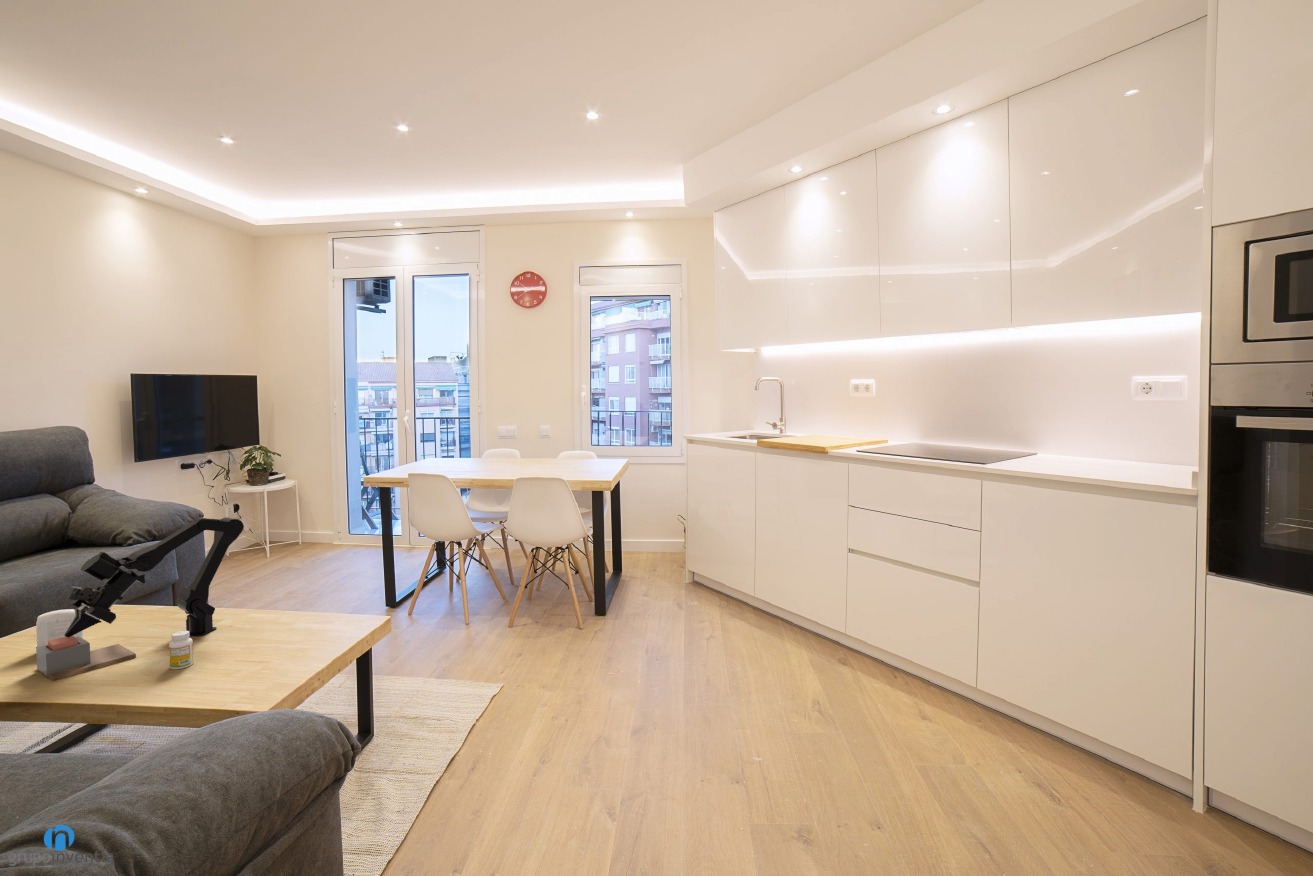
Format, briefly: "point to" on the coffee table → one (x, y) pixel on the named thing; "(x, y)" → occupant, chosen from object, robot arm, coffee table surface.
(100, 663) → the board
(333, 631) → the coffee table surface
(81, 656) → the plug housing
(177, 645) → the supplement bottle
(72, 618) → the photo printer
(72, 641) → the plug
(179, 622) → the coffee table surface
